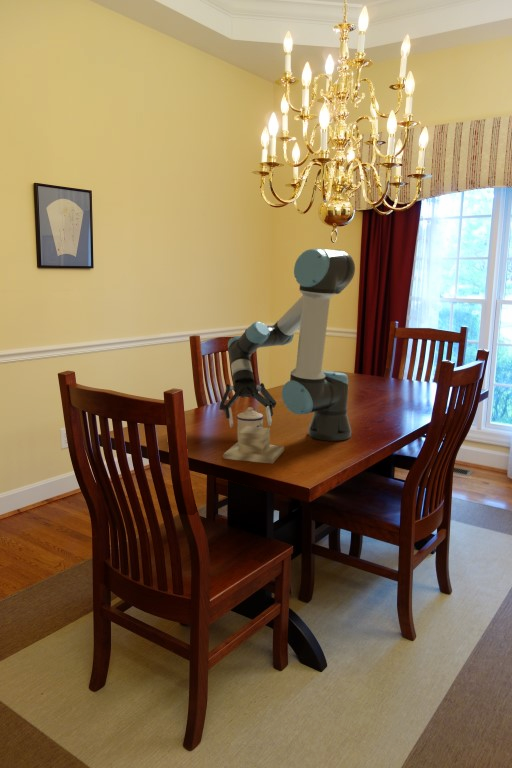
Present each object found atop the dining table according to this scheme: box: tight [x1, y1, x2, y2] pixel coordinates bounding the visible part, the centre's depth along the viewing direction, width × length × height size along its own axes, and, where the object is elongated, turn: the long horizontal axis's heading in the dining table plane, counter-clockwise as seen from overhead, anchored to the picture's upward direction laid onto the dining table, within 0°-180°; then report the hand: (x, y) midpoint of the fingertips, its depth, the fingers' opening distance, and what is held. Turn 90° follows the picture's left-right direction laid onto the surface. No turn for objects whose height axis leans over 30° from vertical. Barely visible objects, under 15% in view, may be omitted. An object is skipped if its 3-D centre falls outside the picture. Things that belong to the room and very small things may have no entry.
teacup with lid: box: [236, 406, 264, 442], centre depth 201 cm, size 12×9×12 cm
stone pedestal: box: [222, 426, 285, 465], centre depth 185 cm, size 16×14×8 cm
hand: (251, 424), depth 201 cm, fingers open, 13 cm apart
